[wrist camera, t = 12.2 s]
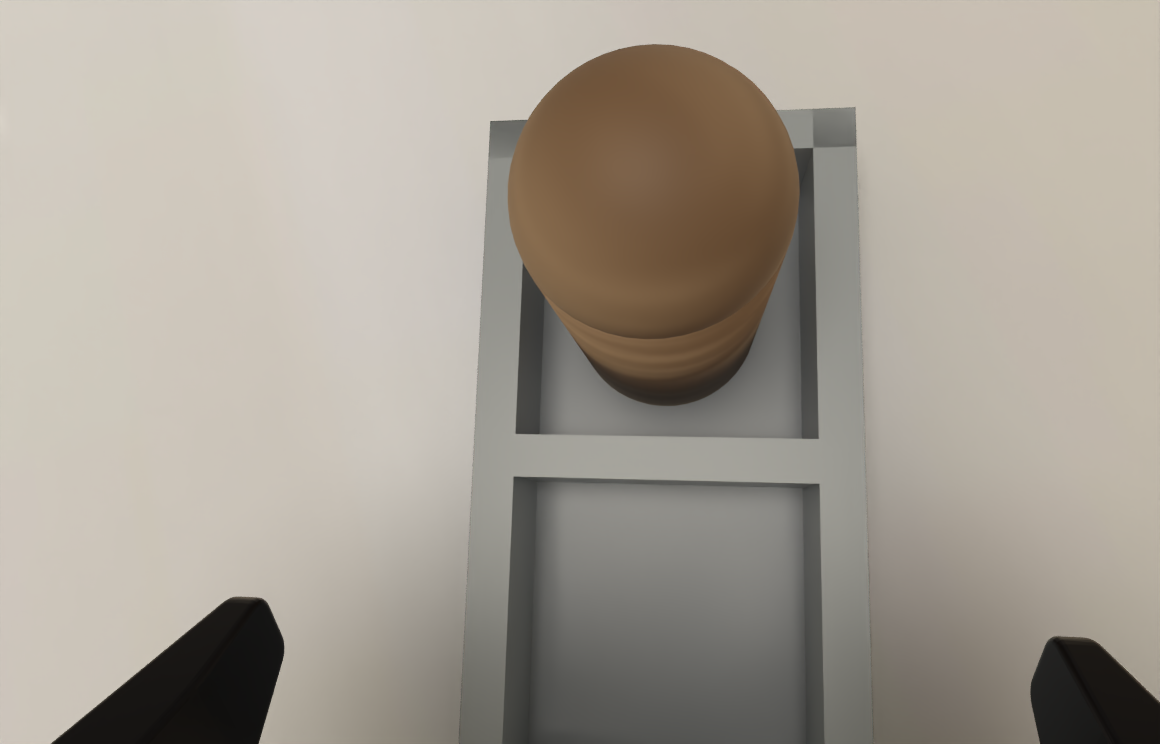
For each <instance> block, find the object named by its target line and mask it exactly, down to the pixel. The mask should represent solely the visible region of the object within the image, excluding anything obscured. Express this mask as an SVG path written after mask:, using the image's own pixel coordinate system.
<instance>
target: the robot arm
mask: <svg viewBox="0 0 1160 744" xmlns="http://www.w3.org/2000/svg"><path fill="white" fill-rule="evenodd" d="M283 656H284V641H283V637H282V635H281V632H280V630H279V628H278V625H277V623H276V621H275V619H274V616H273V614H272V612H271V609H270V607H269V605H268V603H267V602H266V601H265V600H264V599H262V598H257V597H232V598H230V599H228V600H226V601H224V602H223V603H222V604H221V605H219V606H218V607H217V608H216V609H214V610H213V611H212V612H211V613H210V614H208V615H207V616H206V617H205V618H203V619H202V620H201V621H200V622H199V623H197V624H196V625H195V626H194V627H193V628H191V629H190V630H189V631H188V632H186V633H185V634H184V635H183V636H182V637H180V638H179V639H178V640H177V641H175V642H174V643H173V644H172V645H171V646H169V647H168V648H167V649H166V650H164V651H163V652H162V653H161V654H160V655H158V656H157V657H156V658H155V659H153V660H152V661H151V662H150V663H149V664H147V665H146V666H145V667H144V668H143V669H141V670H140V671H139V672H138V673H136V674H135V675H134V676H133V677H132V678H130V679H129V680H128V681H127V682H125V683H124V684H123V685H122V686H121V687H119V688H118V689H117V690H116V691H114V692H113V693H112V694H111V695H110V696H108V697H107V698H106V699H105V700H104V701H102V702H101V703H100V704H99V705H97V706H96V707H95V708H94V709H93V710H91V711H90V712H89V713H88V714H86V715H85V716H84V717H83V718H82V719H80V720H79V721H78V722H77V723H75V724H74V725H73V726H72V727H71V728H69V729H68V730H67V731H66V732H64V733H63V734H62V735H61V736H60V737H58V738H57V739H56V740H55V741H54V742H52V743H51V744H259V741H260V737H261V734H262V730H263V727H264V723H265V720H266V716H267V713H268V709H269V706H270V702H271V699H272V696H273V692H274V689H275V685H276V682H277V678H278V675H279V671H280V668H281V664H282V661H283ZM1031 703H1032V708H1033V713H1034V717H1035V722H1036V726H1037V731H1038V736H1039V740H1040V744H1160V702H1159V701H1158V700H1157V699H1156V698H1155V697H1154V696H1153V695H1152V694H1151V693H1150V692H1149V691H1148V690H1146V689H1145V688H1144V687H1143V686H1142V685H1141V684H1140V683H1139V682H1138V681H1137V680H1136V679H1135V678H1134V677H1133V676H1132V675H1131V674H1130V673H1129V672H1128V671H1127V670H1126V669H1125V668H1124V667H1123V666H1122V665H1121V664H1119V663H1118V662H1117V661H1116V660H1115V659H1114V658H1113V657H1112V656H1111V655H1110V654H1109V653H1108V652H1107V651H1106V650H1105V649H1104V648H1103V647H1102V646H1101V645H1100V644H1098V643H1097V642H1095V641H1093V640H1091V639H1088V638H1081V637H1061V636H1056V637H1052V638H1051V639H1049V640H1048V641H1047V643H1046V645H1045V648H1044V650H1043V653H1042V655H1041V658H1040V660H1039V663H1038V666H1037V668H1036V671H1035V673H1034V676H1033V679H1032V682H1031Z"/></svg>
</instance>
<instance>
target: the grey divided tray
mask: <svg viewBox="0 0 1160 744" xmlns="http://www.w3.org/2000/svg"><path fill="white" fill-rule="evenodd" d="M776 111H777V113H778V114H779V116H780V118H781V120H782V122H783V124H784V125H785V127H786V129H787V131H788V134H789V137H790V140H791V142H792V145H793V148H794V153H795V158H796V163H797V168H798V173H799V189H800V195H799V206H798V214H797V220H796V224H795V228H794V233H793V237H792V239H791V242H790V245H789V247H788V250H787V253H786V255H785V258H784V260H783V263H782V266H781V268H780V271H779V274H778V276H777V279H776V282H775V284H774V287H773V290H772V292H771V295H770V298H769V300H768V303H767V305H766V308H765V311H764V313H763V316H762V319H761V321H760V324H759V327H758V329H757V332H756V335H755V337H754V340H753V342H752V345H751V348H750V350H749V353H748V355H747V357H746V359H745V361H744V363H743V364H742V366H741V367H740V369H739V370H738V371H737V373H736V374H735V375H734V376H733V377H732V378H731V379H730V380H729V381H728V382H727V383H726V384H725V385H724V386H722V387H721V388H720V389H719V390H717V391H716V392H714V393H712V394H711V395H709V396H707V397H705V398H702V399H700V400H698V401H695V402H691V403H688V404H683V405H676V406H658V405H650V404H646V403H642V402H638V401H636V400H633V399H631V398H628V397H626V396H625V395H623V394H621V393H619V392H618V391H616V390H615V389H614V388H612V387H611V386H610V385H608V384H607V383H606V382H605V381H604V380H603V379H602V378H601V377H600V375H599V374H598V373H597V372H596V370H595V369H594V368H593V366H592V365H591V363H590V362H589V360H588V359H587V357H586V356H585V355H584V353H583V352H582V350H581V349H580V347H579V346H578V344H577V343H576V341H575V340H574V339H573V337H572V336H571V334H570V333H569V331H568V330H567V328H566V327H565V326H564V324H563V323H562V321H561V320H560V318H559V317H558V315H557V314H556V312H555V311H554V310H553V308H552V307H551V305H550V304H549V302H548V301H547V299H546V298H545V297H544V295H543V294H542V292H541V291H540V289H539V288H538V286H537V285H536V284H535V282H534V281H533V279H532V277H531V276H530V274H529V272H528V271H527V269H526V267H525V266H524V263H523V261H522V259H521V256H520V254H519V252H518V249H517V247H516V245H515V242H514V238H513V234H512V230H511V227H510V220H509V212H508V179H509V172H510V165H511V162H512V158H513V155H514V151H515V148H516V145H517V142H518V139H519V137H520V135H521V132H522V130H523V128H524V126H525V124H526V122H527V121H528V120H511V121H490V140H489V159H488V179H487V198H486V218H485V238H484V257H483V277H482V296H481V316H480V336H479V355H478V375H477V394H476V414H475V434H474V453H473V473H472V492H471V512H470V532H469V551H468V571H467V590H466V610H465V630H464V649H463V669H462V688H461V708H460V728H459V744H873V710H872V675H871V640H870V605H869V570H868V535H867V500H866V464H865V429H864V394H863V359H862V324H861V289H860V254H859V219H858V184H857V149H856V114H855V107H852V108H826V109H799V110H776Z"/></svg>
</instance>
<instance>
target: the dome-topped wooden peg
mask: <svg viewBox="0 0 1160 744" xmlns="http://www.w3.org/2000/svg"><path fill="white" fill-rule="evenodd" d="M799 195H800V189H799V173H798V168H797V163H796V158H795V153H794V148H793V145H792V142H791V140H790V137H789V134H788V131H787V129H786V127H785V125H784V124H783V122H782V120H781V118H780V116H779V114H778V113H777V111H776V110H775V108H774V107H773V105H772V104H771V103H770V101H769V100H768V98H767V97H766V96H765V94H764V93H763V92H762V91H761V90H760V89H759V88H758V87H757V86H756V85H755V84H754V83H753V82H752V81H751V80H750V79H748V78H747V77H746V76H745V75H743V74H742V73H741V72H740V71H738V70H736V69H735V68H733V67H731V66H730V65H728V64H727V63H725V62H723V61H721V60H720V59H717V58H715V57H713V56H711V55H708V54H706V53H703V52H700V51H697V50H693V49H690V48H686V47H680V46H674V45H657V44H652V45H639V46H632V47H627V48H622V49H618V50H615V51H612V52H609V53H606V54H603V55H601V56H599V57H596V58H594V59H592V60H590V61H588V62H586V63H584V64H583V65H581V66H579V67H578V68H576V69H575V70H573V71H572V72H570V73H569V74H568V75H567V76H565V77H564V78H563V79H562V80H560V81H559V82H558V83H557V84H556V85H555V86H554V87H553V88H552V89H551V90H550V91H549V92H548V93H547V94H546V95H545V96H544V98H543V99H542V100H541V102H540V103H539V104H538V105H537V107H536V108H535V109H534V111H533V112H532V114H531V115H530V117H529V119H528V121H527V122H526V124H525V126H524V128H523V130H522V132H521V135H520V137H519V139H518V142H517V145H516V148H515V151H514V155H513V158H512V162H511V165H510V172H509V179H508V212H509V220H510V227H511V230H512V234H513V238H514V242H515V245H516V247H517V249H518V252H519V254H520V256H521V259H522V261H523V263H524V266H525V267H526V269H527V271H528V272H529V274H530V276H531V277H532V279H533V281H534V282H535V284H536V285H537V286H538V288H539V289H540V291H541V292H542V294H543V295H544V297H545V298H546V299H547V301H548V302H549V304H550V305H551V307H552V308H553V310H554V311H555V312H556V314H557V315H558V317H559V318H560V320H561V321H562V323H563V324H564V326H565V327H566V328H567V330H568V331H569V333H570V334H571V336H572V337H573V339H574V340H575V341H576V343H577V344H578V346H579V347H580V349H581V350H582V352H583V353H584V355H585V356H586V357H587V359H588V360H589V362H590V363H591V365H592V366H593V368H594V369H595V370H596V372H597V373H598V374H599V375H600V377H601V378H602V379H603V380H604V381H605V382H606V383H607V384H608V385H610V386H611V387H612V388H614V389H615V390H616V391H618V392H619V393H621V394H623V395H625V396H626V397H628V398H631V399H633V400H636V401H638V402H642V403H646V404H650V405H658V406H676V405H683V404H688V403H691V402H695V401H698V400H700V399H702V398H705V397H707V396H709V395H711V394H712V393H714V392H716V391H717V390H719V389H720V388H721V387H722V386H724V385H725V384H726V383H727V382H728V381H729V380H730V379H731V378H732V377H733V376H734V375H735V374H736V373H737V371H738V370H739V369H740V367H741V366H742V364H743V363H744V361H745V359H746V357H747V355H748V353H749V350H750V348H751V345H752V342H753V340H754V337H755V335H756V332H757V329H758V327H759V324H760V321H761V319H762V316H763V313H764V311H765V308H766V305H767V303H768V300H769V298H770V295H771V292H772V290H773V287H774V284H775V282H776V279H777V276H778V274H779V271H780V268H781V266H782V263H783V260H784V258H785V255H786V253H787V250H788V247H789V245H790V242H791V239H792V237H793V233H794V228H795V224H796V220H797V214H798V206H799Z"/></svg>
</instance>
